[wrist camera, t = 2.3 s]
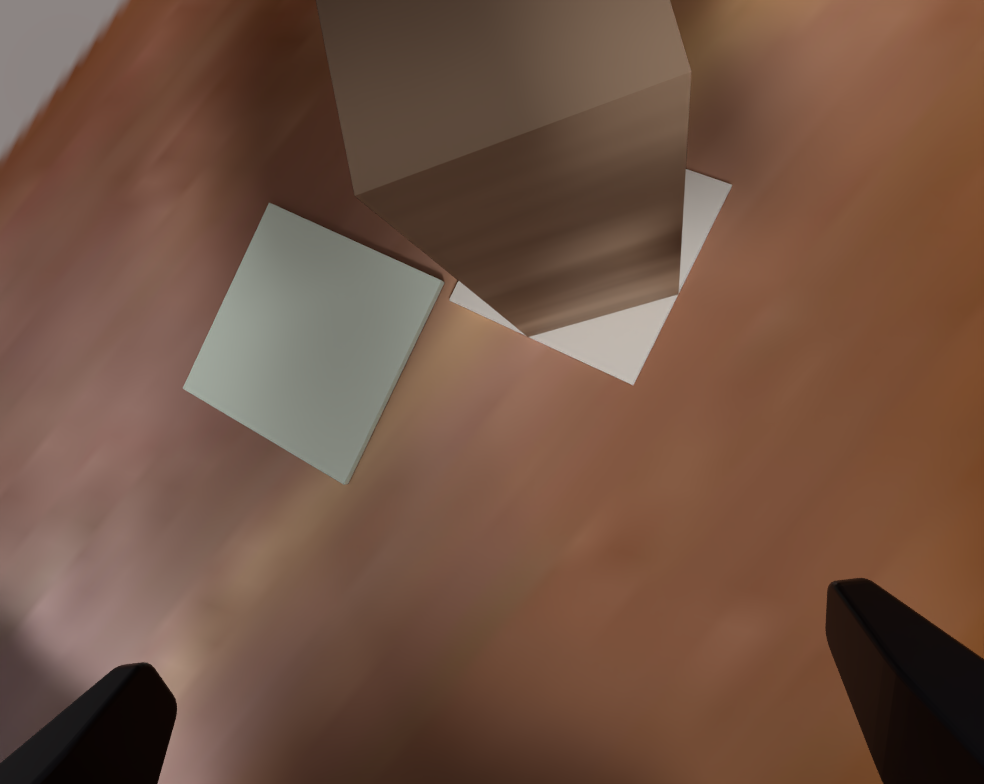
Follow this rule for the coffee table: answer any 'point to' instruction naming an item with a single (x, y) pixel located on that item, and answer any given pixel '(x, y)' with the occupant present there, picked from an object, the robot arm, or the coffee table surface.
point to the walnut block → (521, 144)
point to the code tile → (633, 331)
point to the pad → (312, 340)
